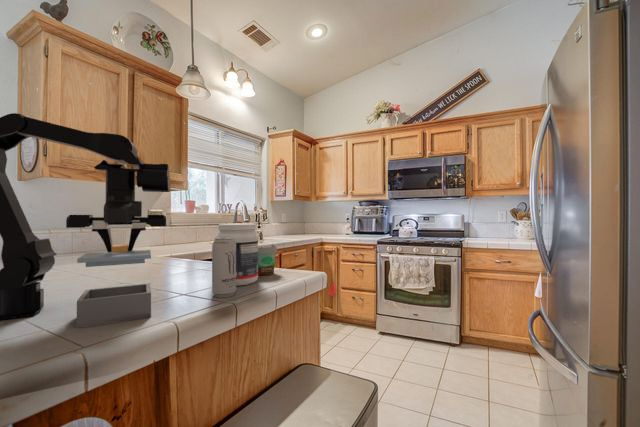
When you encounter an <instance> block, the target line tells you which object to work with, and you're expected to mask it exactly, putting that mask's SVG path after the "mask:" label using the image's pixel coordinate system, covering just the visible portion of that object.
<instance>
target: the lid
mask: <svg viewBox="0 0 640 427" xmlns="http://www.w3.org/2000/svg"><path fill="white" fill-rule="evenodd" d="M128 247H129V243H128V244H112V247H111V252H108V251H105V252H103V251H101V252H99V251H98V252H87V253H85V254H82V255H81V256H79V257H78V258H77V262H76V263H77V264H83V263H84V264H85V268H93V267H107V266H120V265H121V266H122V265H136V264H145V260H147V259H149V260H150V259H151V258H152V253H151V249H144V250H132V251H128Z"/></svg>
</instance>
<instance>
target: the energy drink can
mask: <svg viewBox="0 0 640 427" xmlns="http://www.w3.org/2000/svg"><path fill="white" fill-rule="evenodd" d="M211 245H212V247H211V248H212V249H211V250H212V251H211V255H212V256H211V262H212V263H211V265H212V266H211V271H212V272H211V283H212V284H211V293H212V294H213V295H214V297H215V298H229V297H233V296H234V295H235V292H236V291H237V286H236V243H235V241H234V238H233V237H220V238H216V237H215V238H214V241H213V243H212V244H211Z"/></svg>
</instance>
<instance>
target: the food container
mask: <svg viewBox="0 0 640 427" xmlns="http://www.w3.org/2000/svg"><path fill="white" fill-rule="evenodd" d="M277 252H278V248H277V245H276V244H271V246H267V247H266V246H265V247H264V246H263V247H262V246H261V247H258V276H260V277H268V276H269V275H270V276H273V275H274V272H275V264H276V263H275V262H276V253H277Z"/></svg>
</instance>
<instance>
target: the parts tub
mask: <svg viewBox="0 0 640 427" xmlns="http://www.w3.org/2000/svg"><path fill="white" fill-rule="evenodd" d="M151 317H152V288H151V283H149V282H148V283H140V284H139V283H138V284H129V285H120V286H110V287H101V288H100V287H99V288H89V289H85V290H84V291H83V292H82V293H81V295H80V296H79V298H78V299H77V300H76V329H81V328H87V327H93V326H95V327H96V326H102V325H107V324H114V323H119V322H126V321H134V320H141V319H147V318H151Z"/></svg>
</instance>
